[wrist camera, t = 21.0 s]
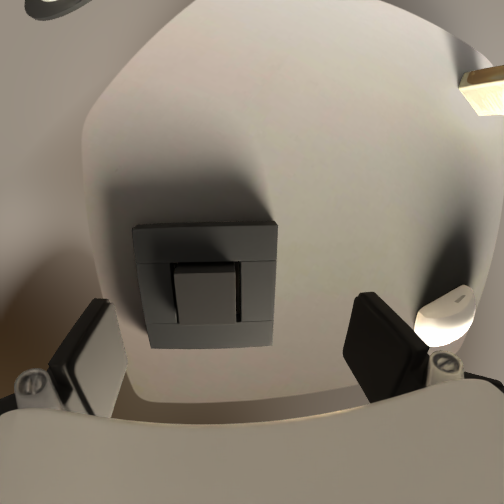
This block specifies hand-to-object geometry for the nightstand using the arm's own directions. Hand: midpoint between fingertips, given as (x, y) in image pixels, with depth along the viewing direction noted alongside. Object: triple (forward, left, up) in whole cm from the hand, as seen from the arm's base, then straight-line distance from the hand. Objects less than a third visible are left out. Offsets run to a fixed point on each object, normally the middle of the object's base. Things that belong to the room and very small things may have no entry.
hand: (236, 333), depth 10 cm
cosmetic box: (+37, +21, -21) cm, 47 cm away
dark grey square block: (-2, -8, -21) cm, 22 cm away
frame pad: (-2, -8, -21) cm, 22 cm away
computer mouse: (+35, -15, -21) cm, 43 cm away
